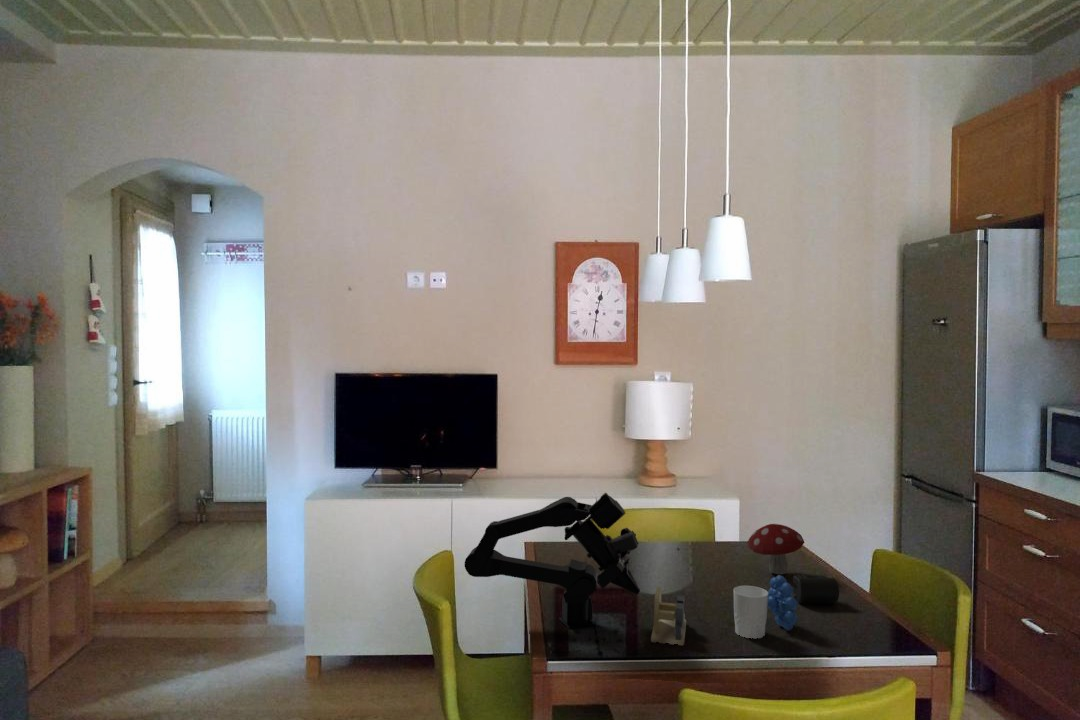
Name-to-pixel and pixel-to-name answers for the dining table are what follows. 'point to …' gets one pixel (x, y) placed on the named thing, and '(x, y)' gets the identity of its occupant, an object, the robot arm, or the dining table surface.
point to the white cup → (750, 611)
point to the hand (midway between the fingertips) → (638, 592)
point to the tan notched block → (662, 610)
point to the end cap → (815, 589)
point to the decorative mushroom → (775, 545)
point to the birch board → (667, 633)
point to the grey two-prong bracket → (679, 618)
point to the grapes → (782, 602)
